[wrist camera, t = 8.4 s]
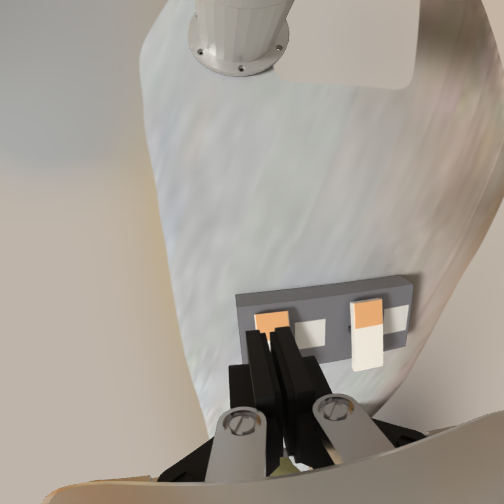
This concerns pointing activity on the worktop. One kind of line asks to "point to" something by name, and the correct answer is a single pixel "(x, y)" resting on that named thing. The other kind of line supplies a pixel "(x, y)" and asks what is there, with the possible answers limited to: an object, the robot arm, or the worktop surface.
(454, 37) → the worktop surface
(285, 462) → the light bulb
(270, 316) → the rocker
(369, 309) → the rocker
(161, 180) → the worktop surface
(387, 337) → the switch panel
